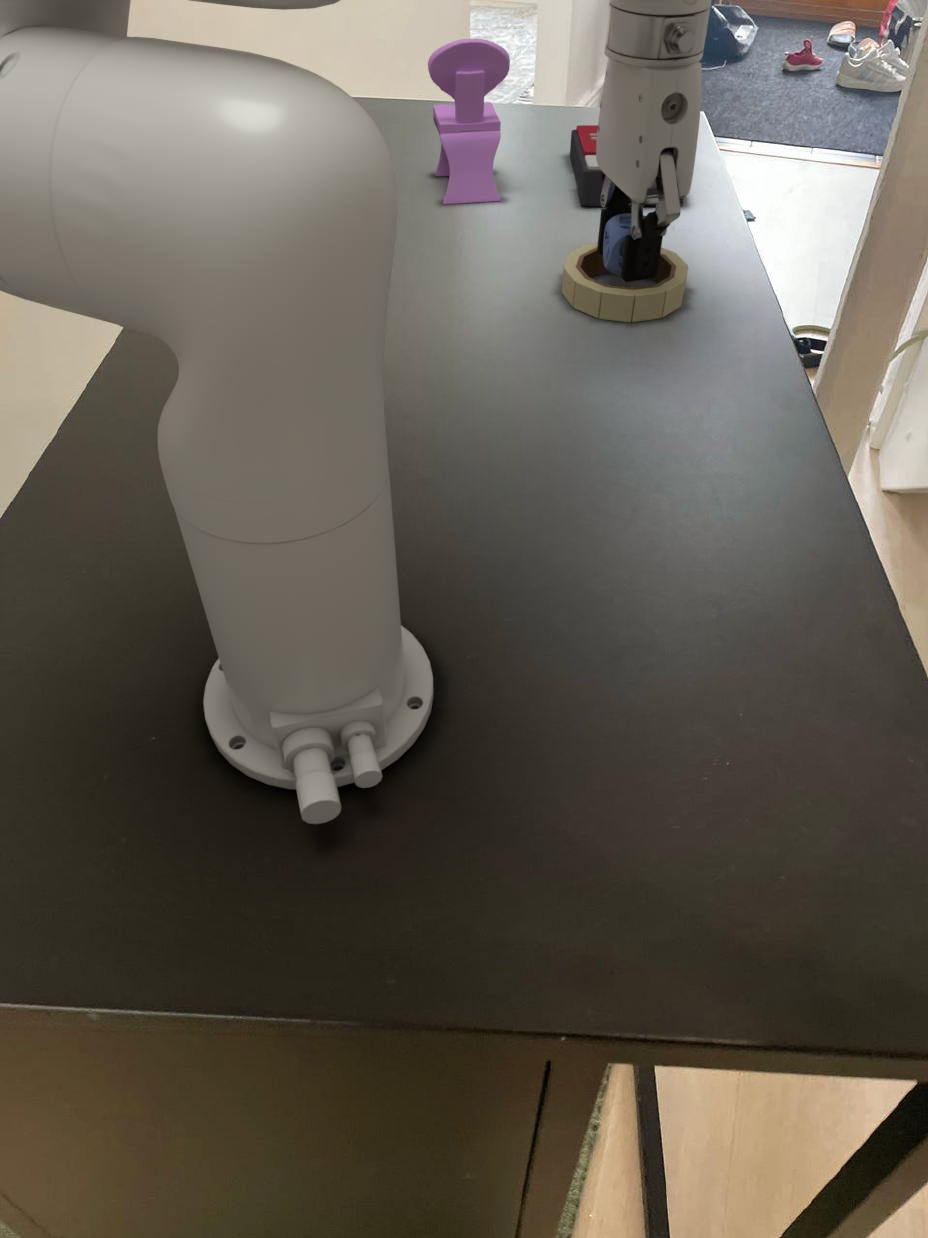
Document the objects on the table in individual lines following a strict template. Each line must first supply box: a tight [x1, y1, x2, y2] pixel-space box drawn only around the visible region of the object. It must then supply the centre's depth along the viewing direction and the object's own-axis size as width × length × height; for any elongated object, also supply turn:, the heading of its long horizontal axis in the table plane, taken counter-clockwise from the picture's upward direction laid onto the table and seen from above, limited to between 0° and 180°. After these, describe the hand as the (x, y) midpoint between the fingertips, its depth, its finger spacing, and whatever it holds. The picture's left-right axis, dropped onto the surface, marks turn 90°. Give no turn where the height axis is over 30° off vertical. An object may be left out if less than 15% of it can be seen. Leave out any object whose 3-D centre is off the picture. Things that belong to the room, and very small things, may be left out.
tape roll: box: [561, 241, 689, 323], centre depth 83 cm, size 11×11×2 cm
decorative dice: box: [603, 213, 647, 276], centre depth 81 cm, size 4×4×4 cm
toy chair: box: [427, 38, 511, 205], centre depth 96 cm, size 8×9×15 cm
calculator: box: [569, 124, 685, 207], centre depth 101 cm, size 11×4×15 cm
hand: (626, 263), depth 82 cm, fingers closed on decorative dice, 4 cm apart
